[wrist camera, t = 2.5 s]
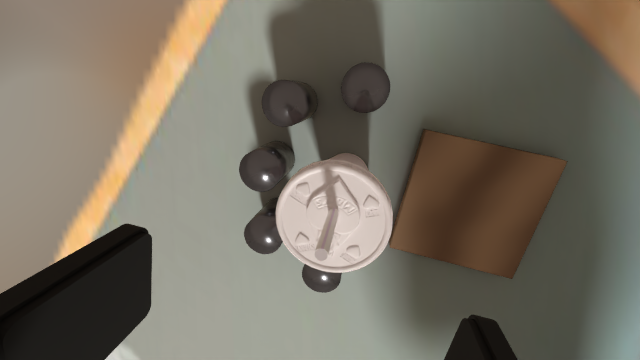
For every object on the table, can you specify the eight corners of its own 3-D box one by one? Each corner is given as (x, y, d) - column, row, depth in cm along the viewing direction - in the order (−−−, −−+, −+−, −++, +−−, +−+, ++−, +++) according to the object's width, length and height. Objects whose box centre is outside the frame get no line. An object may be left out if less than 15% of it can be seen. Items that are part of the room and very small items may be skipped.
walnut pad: (558, 158, 22) (567, 161, 21) (506, 271, 25) (511, 278, 24) (423, 129, 23) (426, 130, 22) (389, 241, 26) (389, 247, 25)
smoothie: (393, 144, 24) (422, 209, 10) (375, 217, 26) (382, 350, 12) (314, 130, 24) (247, 174, 11) (303, 202, 26) (235, 313, 13)
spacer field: (390, 72, 22) (395, 67, 18) (341, 265, 27) (336, 296, 23) (275, 49, 23) (254, 39, 19) (249, 240, 28) (227, 266, 24)
